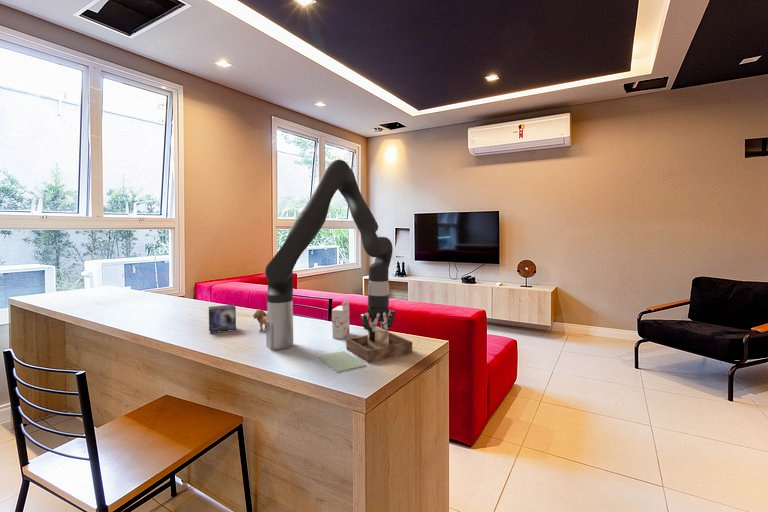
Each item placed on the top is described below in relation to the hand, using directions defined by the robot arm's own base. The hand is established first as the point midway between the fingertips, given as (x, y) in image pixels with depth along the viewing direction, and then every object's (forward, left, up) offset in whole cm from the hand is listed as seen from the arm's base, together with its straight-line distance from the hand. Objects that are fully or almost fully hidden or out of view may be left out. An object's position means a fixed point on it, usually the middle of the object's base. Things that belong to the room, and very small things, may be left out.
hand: (378, 340), depth 131 cm
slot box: (0, 0, -4) cm, 4 cm away
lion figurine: (-27, +49, -4) cm, 56 cm away
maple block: (0, 0, -2) cm, 2 cm away
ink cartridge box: (-3, +25, -4) cm, 26 cm away
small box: (-43, +60, -4) cm, 74 cm away
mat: (-16, -2, -4) cm, 16 cm away
